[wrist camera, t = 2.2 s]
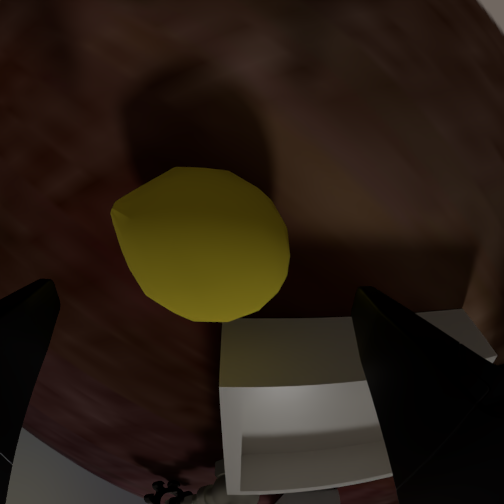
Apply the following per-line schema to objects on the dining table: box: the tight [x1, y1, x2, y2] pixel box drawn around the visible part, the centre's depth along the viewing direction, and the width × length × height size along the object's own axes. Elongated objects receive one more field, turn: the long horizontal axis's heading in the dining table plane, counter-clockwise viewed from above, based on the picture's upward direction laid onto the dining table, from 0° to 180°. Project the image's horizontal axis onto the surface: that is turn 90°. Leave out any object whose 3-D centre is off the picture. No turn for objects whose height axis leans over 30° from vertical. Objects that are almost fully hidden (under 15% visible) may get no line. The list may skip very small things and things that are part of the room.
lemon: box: [110, 167, 290, 322], centre depth 11 cm, size 7×5×5 cm
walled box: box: [219, 309, 498, 495], centre depth 18 cm, size 15×15×4 cm
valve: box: [144, 459, 259, 504], centre depth 23 cm, size 7×7×12 cm
